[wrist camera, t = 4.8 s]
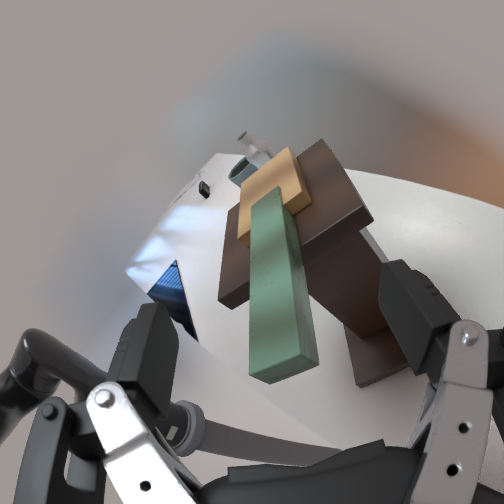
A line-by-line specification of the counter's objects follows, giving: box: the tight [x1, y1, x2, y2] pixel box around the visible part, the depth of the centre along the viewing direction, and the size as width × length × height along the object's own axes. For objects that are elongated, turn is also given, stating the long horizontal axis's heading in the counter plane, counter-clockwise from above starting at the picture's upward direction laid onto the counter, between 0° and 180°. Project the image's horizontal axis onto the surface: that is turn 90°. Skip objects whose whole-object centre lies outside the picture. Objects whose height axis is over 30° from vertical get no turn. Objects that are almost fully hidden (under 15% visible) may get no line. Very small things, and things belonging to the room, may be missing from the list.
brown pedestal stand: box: [218, 139, 410, 388], centre depth 29 cm, size 12×12×24 cm
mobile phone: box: [199, 181, 209, 198], centre depth 135 cm, size 5×3×15 cm
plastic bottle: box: [237, 131, 276, 169], centre depth 71 cm, size 6×7×20 cm
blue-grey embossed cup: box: [228, 157, 259, 188], centre depth 84 cm, size 10×10×12 cm
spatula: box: [237, 147, 319, 384], centre depth 20 cm, size 20×6×2 cm, turn 0°
